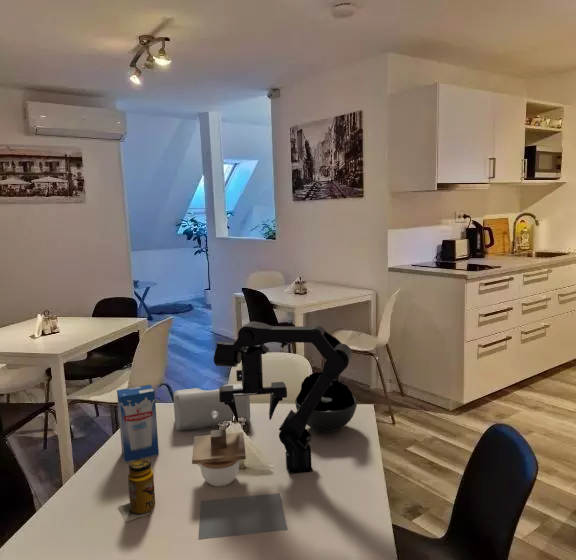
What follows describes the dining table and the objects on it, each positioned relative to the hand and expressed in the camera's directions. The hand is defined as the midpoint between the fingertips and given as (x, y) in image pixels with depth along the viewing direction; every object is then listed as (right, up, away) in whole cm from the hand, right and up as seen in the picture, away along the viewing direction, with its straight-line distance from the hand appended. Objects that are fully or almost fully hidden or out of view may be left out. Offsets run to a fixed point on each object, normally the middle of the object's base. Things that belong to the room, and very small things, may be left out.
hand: (254, 420), depth 145 cm
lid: (-9, -5, -9) cm, 13 cm away
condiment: (-27, -17, -18) cm, 37 cm away
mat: (-1, -17, -23) cm, 28 cm away
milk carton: (-35, -13, +9) cm, 38 cm away
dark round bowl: (+22, -9, +23) cm, 33 cm away
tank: (-16, -10, +28) cm, 34 cm away
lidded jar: (-8, -15, -7) cm, 18 cm away
